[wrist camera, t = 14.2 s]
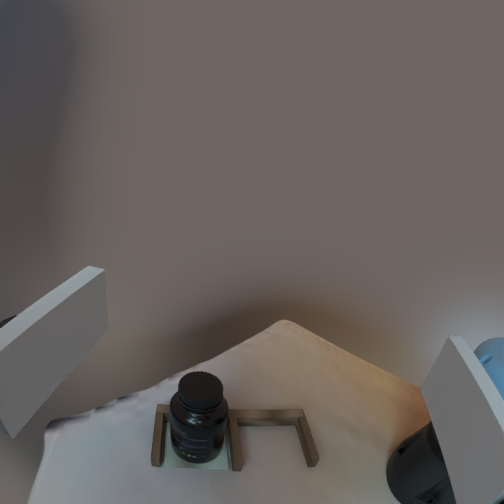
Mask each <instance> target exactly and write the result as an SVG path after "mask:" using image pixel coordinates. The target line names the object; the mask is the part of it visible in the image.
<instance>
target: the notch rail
mask: <svg viewBox="0 0 504 504" xmlns="http://www.w3.org/2000/svg"><path fill="white" fill-rule="evenodd" d="M169 407H170V405H163V404H157V408H156V417H155V425H154V434H153V443H152V453H151V462H152V466H157V467H160V459H161V446H162V434H163V423H164V421H168V422H167V429H166V442H165V457H164V466H171V467H182V468H197V469H224V470H228V469H229V468H228V458H227V448H226V438H225V437H224V443H223V448H222V451H221V453H220V454H219V456H218V457H217V458H215V459H214V460H212V461H210V462H208V463H203V464H195V463H190V462H187V461H185V460H183V459H181V458H180V457H178V456H177V455H176V454H175V452H174V451H173V449H172V446H171V439H170V413H169ZM284 425H295V426H296V429H297V433H298V436H299V439H300V443H301V446H302V449H303V452H304V456H305V459H306V462H307V466H308V467H314V466H316V464H317V462H318V461H319V456H318V453H317V450H316V447H315V444H314V441H313V438H312V435H311V432H310V429H309V426H308V424H307V421H306V418H305V415H304V412H303V409H297V410H230V409H229V415H228V421H227V426H228V434H229V444H230V453H231V462H232V471H241V468H242V465H243V462H242V455H241V447H240V440H239V432H238V426H284Z"/></svg>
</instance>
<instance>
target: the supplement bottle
mask: <svg viewBox="0 0 504 504" xmlns="http://www.w3.org/2000/svg"><path fill="white" fill-rule="evenodd" d="M169 413H170V439H171V446H172V449H173V451H174V452H175V454H176V455H177V456H178V457H180V458H181V459H183V460H185V461H187V462H190V463H195V464H203V463H208V462H210V461H212V460H214V459H215V458H217V457H218V456H219V454H220V453H221V451H222V448H223V443H224V437H225V432H226V426H227V421H228V415H229V407H228V403H227V401H226V399H225V398H224V397H223V385H222V383H221V381H220V380H219V379H218V378H217V377H216V376H214V375H212V374H210V373H207V372H202V371H201V372H199V371H197V372H190V373H188V374H186V375H184V376H183V377H182V378H181V380H180V381H179V386H178V391H177V392H176V393H175V394H174V395H173V397H172V399H171V401H170V407H169Z"/></svg>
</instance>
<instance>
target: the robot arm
mask: <svg viewBox="0 0 504 504" xmlns="http://www.w3.org/2000/svg"><path fill="white" fill-rule="evenodd" d="M108 331H109V323H108V312H107V298H106V283H105V270H104V269H100V268H96V267H92V266H88V267H86V268H85V269H84V270H82V271H80V272H79V273H77V274H76V275H74V276H73V277H72V278H70V279H68V280H67V281H66V282H64V283H62V284H61V285H60V286H58V287H57V288H55V289H54V290H52V291H51V292H49V293H48V294H47V295H45V296H44V297H43V298H41V299H40V300H38V301H37V302H35V303H34V304H33V305H31V306H30V307H28V308H27V309H26V310H24V311H23V312H22V313H20V314H19V315H15V316H13V317H10V318H7V319H5V320H3V321H2V322H0V431H2V432H3V433H4V434H6V435H7V436H8V437H10V438H11V439H13V438H14V437H15V436H16V435H17V433H18V432H19V431H20V430H21V429H22V427H23V426H24V425H25V424H26V422H27V421H28V420H29V419H30V418H31V416H32V415H33V414H34V413H35V412H36V411H37V410H38V408H39V407H40V406H41V405H42V404H43V403H44V401H45V400H46V399H47V398H48V397H49V396H50V395H51V393H52V392H53V391H54V390H55V389H56V388H57V387H58V385H59V384H60V383H61V382H62V381H63V380H64V379H65V378H66V376H67V375H68V374H69V373H70V372H71V371H72V370H73V369H74V368H75V366H76V365H77V364H78V363H79V362H80V361H81V360H82V359H83V358H84V357H85V356H86V354H87V353H88V352H89V351H90V350H91V349H92V348H93V347H94V346H95V345H96V344H97V343H98V341H99V340H100V339H101V338H102V337H103V336H104V335H105V334H106V333H107V332H108ZM420 391H421V393H422V396H423V399H424V401H425V404H426V407H427V410H428V412H429V415H430V418H431V421H430V423H429V424H427V425H426V426H424V427H423V428H422V429H420V430H419V431H417V432H416V433H414V434H413V435H411V436H410V437H408V438H407V439H405V440H404V441H403V442H402V443H401V444H400V445H399V446H398V447H397V449H396V450H395V451H394V453H393V454H392V455H391V457H390V459H389V462H388V465H387V480H388V484H389V487H390V489H391V491H392V493H393V494H394V496H395V497H396V498H397V500H398V501H399V502H400V503H401V504H504V338H492V339H489V340H486V341H484V342H483V343H481V344H480V345H479V346H478V347H477V348H476V350H475V351H474V352H473V351H472V349H471V348H470V346H469V345H468V344H467V342H466V341H465V339H464V338H463V337H457V336H448V338H447V340H446V342H445V344H444V346H443V348H442V350H441V352H440V354H439V356H438V358H437V360H436V362H435V364H434V365H433V367H432V369H431V371H430V373H429V375H428V376H427V379H426V380H425V382H424V384H423V385H422V387H421V389H420Z"/></svg>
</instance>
